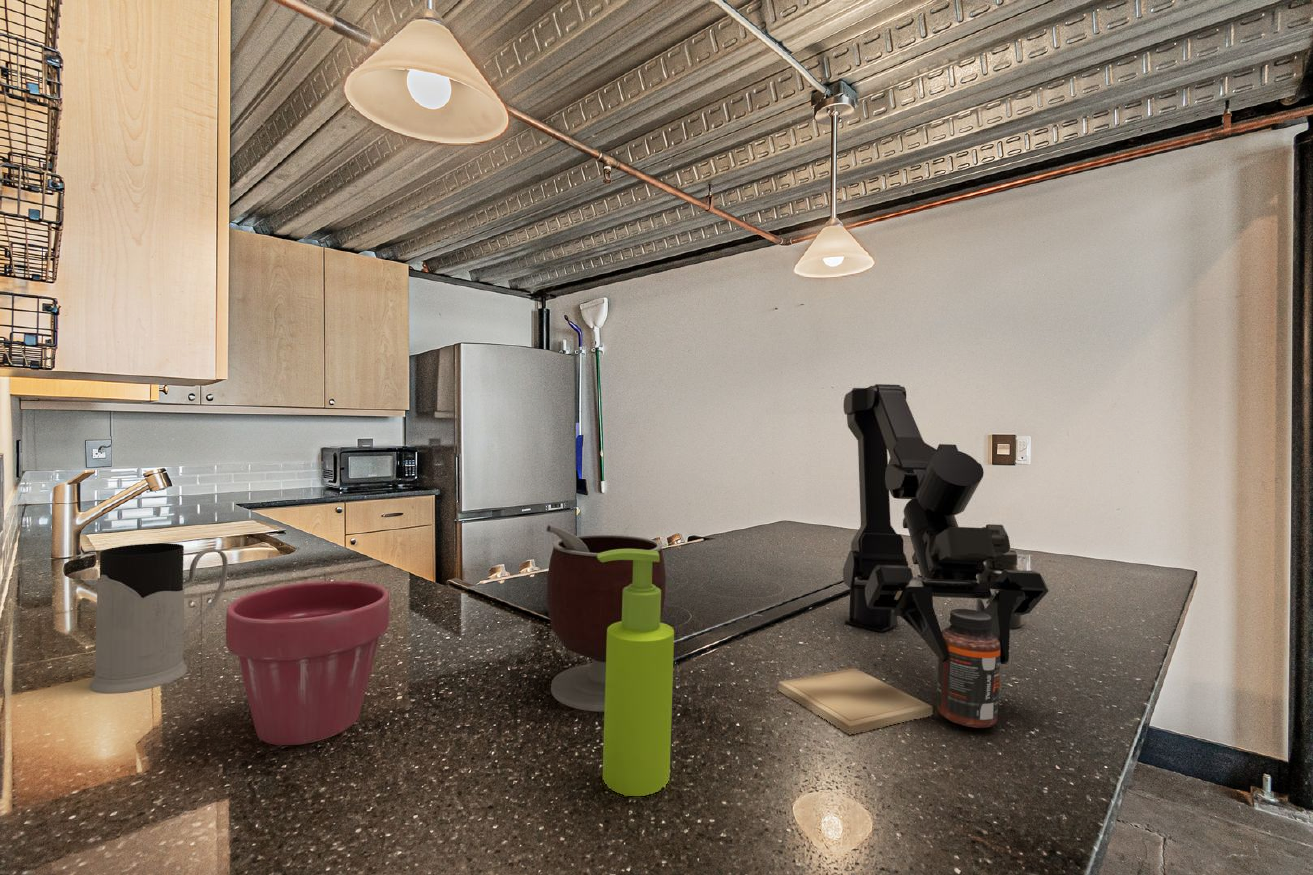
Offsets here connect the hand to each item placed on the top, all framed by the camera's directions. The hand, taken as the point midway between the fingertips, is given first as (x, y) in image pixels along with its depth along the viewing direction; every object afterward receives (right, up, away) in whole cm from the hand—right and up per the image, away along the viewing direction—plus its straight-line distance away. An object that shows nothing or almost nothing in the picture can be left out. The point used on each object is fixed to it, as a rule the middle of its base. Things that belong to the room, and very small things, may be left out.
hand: (975, 661), depth 66 cm
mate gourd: (-41, -6, +7) cm, 42 cm away
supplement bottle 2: (+24, -8, +39) cm, 47 cm away
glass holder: (-93, -4, +9) cm, 93 cm away
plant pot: (-69, -5, -3) cm, 69 cm away
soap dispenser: (-36, -6, -11) cm, 38 cm away
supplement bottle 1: (0, -7, +2) cm, 7 cm away
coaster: (-11, -7, +6) cm, 14 cm away
